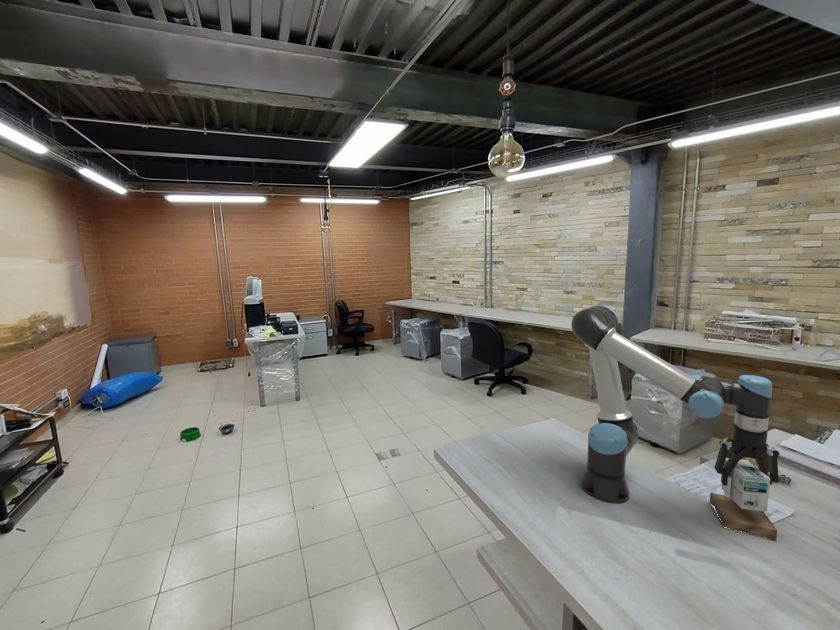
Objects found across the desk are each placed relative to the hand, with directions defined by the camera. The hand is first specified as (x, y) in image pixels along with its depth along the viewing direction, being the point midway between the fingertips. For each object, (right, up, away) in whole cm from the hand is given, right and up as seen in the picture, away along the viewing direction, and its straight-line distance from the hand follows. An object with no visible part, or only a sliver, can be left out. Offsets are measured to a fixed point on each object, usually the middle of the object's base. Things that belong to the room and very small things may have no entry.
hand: (743, 497), depth 114 cm
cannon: (+31, -3, +37) cm, 48 cm away
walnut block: (0, -9, +1) cm, 9 cm away
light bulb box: (0, -1, 0) cm, 1 cm away
